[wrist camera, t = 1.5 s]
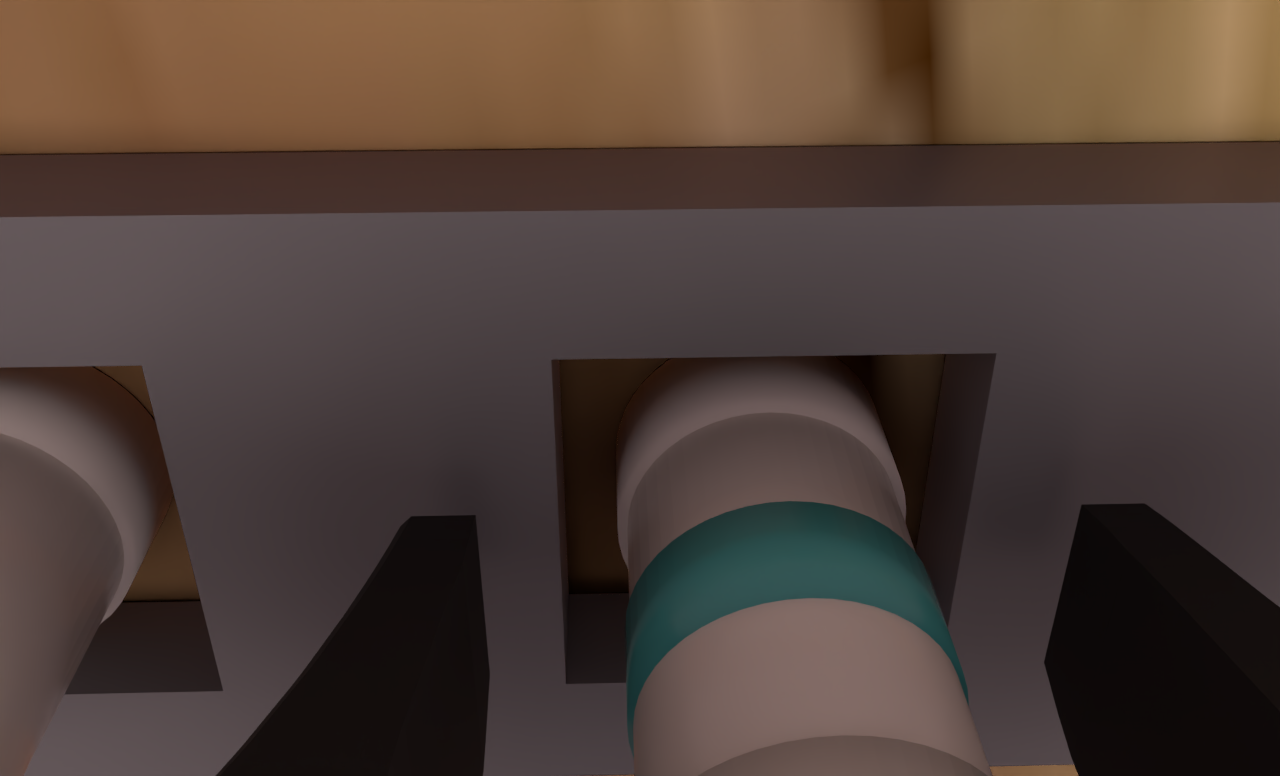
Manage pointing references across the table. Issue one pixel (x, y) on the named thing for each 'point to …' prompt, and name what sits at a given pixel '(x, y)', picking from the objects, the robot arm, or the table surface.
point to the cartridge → (66, 532)
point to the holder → (621, 329)
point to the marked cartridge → (778, 582)
